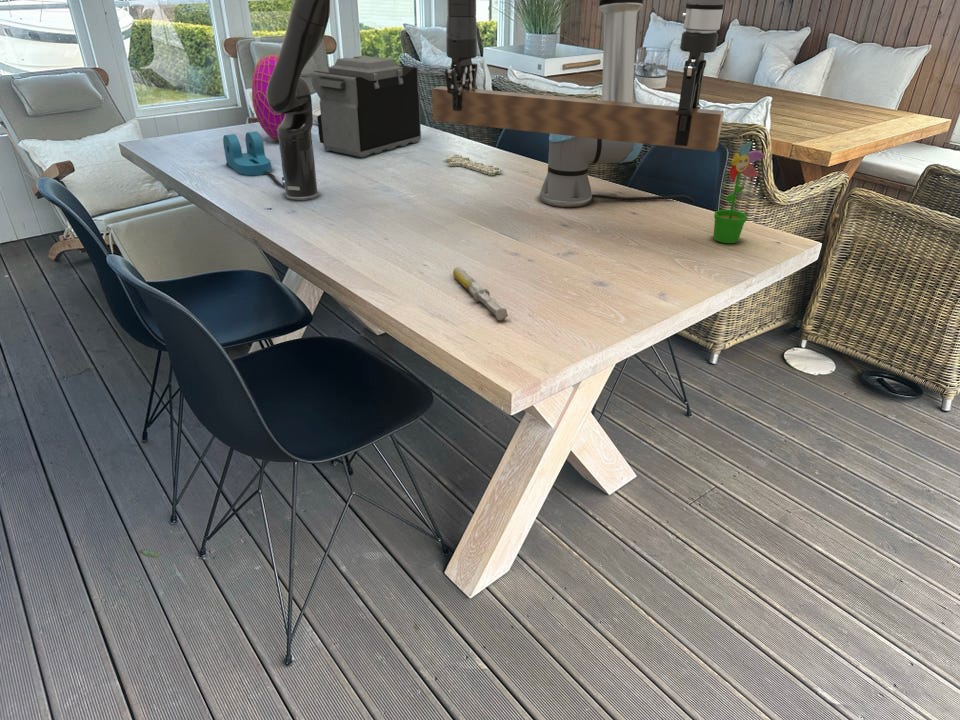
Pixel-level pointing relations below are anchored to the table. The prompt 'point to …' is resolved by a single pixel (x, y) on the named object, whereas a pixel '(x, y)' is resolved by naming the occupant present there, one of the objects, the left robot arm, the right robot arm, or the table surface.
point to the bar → (578, 117)
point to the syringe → (479, 293)
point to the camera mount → (246, 154)
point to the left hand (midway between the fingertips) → (461, 108)
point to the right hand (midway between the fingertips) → (683, 142)
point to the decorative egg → (265, 96)
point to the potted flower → (731, 220)
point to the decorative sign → (472, 165)
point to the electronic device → (367, 105)
